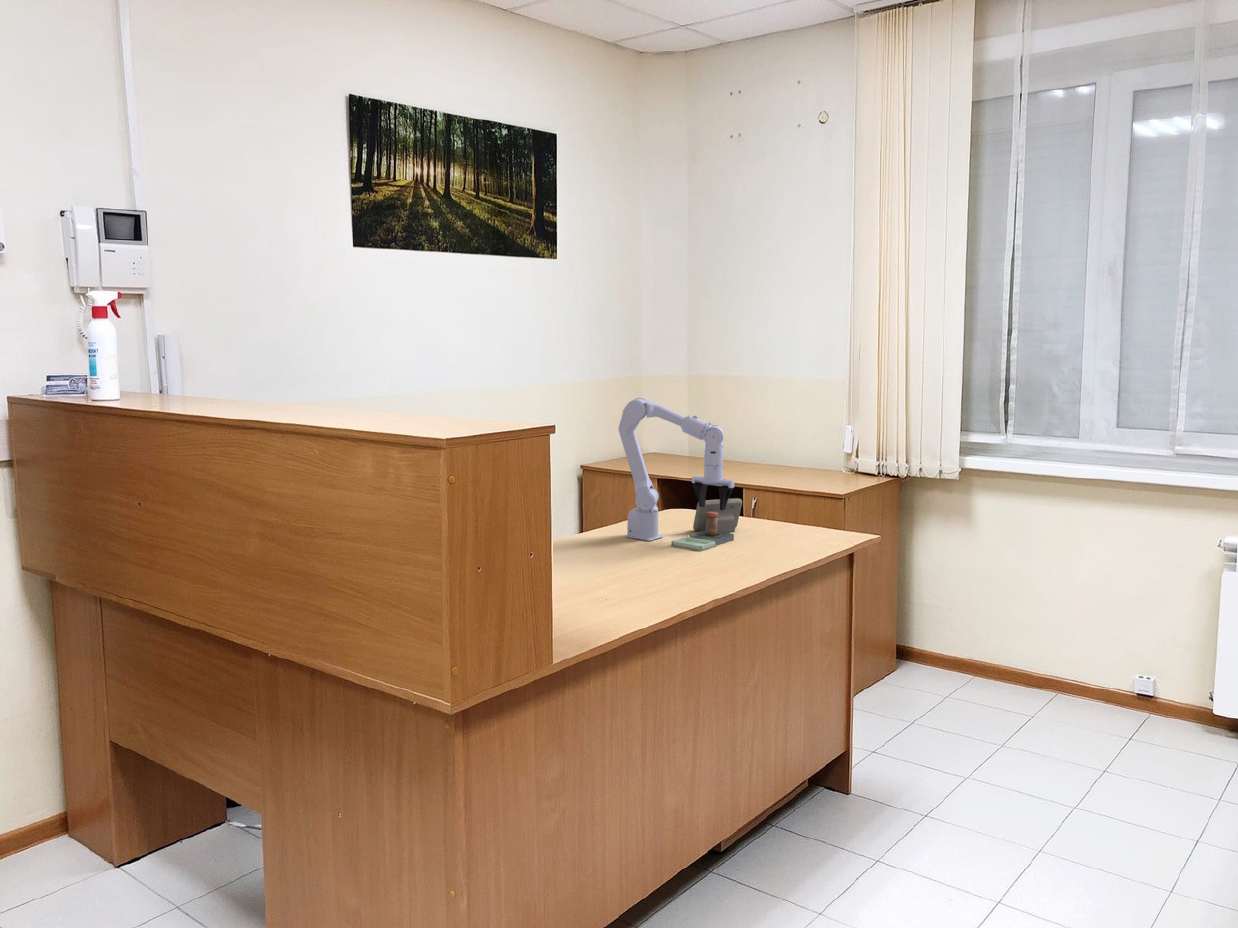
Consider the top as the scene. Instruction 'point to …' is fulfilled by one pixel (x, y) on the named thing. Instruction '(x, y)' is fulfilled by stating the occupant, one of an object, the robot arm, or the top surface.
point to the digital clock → (725, 518)
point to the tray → (693, 543)
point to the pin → (712, 523)
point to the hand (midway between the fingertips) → (712, 508)
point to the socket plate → (714, 537)
